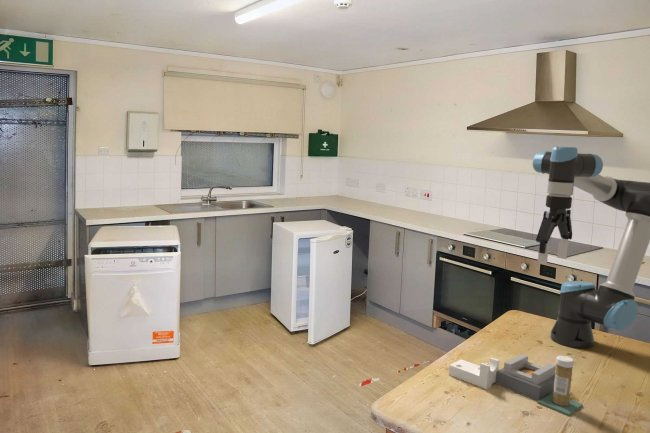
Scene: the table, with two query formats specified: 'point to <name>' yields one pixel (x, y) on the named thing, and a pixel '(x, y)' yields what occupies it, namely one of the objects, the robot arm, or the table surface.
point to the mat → (565, 410)
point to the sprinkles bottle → (562, 380)
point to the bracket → (475, 372)
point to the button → (527, 372)
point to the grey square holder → (527, 377)
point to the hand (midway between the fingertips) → (552, 260)
